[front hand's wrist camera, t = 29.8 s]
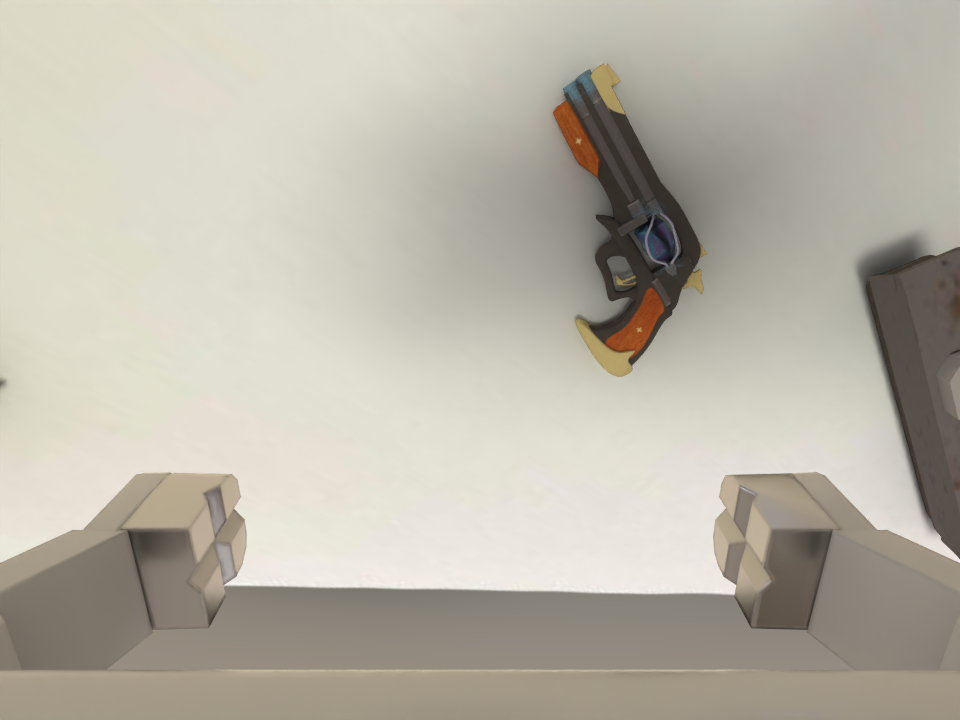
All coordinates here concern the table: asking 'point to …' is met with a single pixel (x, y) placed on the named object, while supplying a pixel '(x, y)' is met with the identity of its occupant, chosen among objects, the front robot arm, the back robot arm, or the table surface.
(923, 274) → the toy
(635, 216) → the toy gun
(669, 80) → the table surface
